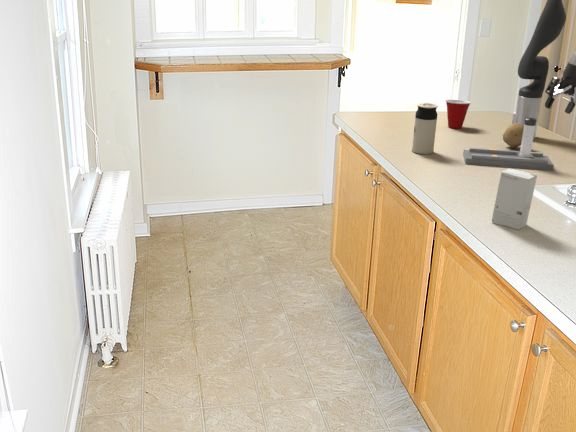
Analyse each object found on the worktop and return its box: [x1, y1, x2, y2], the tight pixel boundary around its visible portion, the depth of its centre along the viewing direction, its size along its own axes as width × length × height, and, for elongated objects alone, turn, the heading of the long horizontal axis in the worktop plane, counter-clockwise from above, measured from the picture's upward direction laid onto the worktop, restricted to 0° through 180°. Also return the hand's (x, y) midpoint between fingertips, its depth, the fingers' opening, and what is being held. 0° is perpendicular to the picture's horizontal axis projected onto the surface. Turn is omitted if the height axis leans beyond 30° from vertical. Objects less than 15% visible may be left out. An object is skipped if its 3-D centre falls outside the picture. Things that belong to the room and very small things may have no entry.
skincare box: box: [491, 167, 538, 230], centre depth 181 cm, size 8×6×15 cm
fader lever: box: [516, 118, 537, 158], centre depth 237 cm, size 5×6×14 cm
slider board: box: [462, 147, 554, 171], centre depth 240 cm, size 30×12×3 cm, turn 80°
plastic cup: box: [444, 99, 472, 130], centre depth 288 cm, size 11×11×12 cm
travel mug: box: [411, 102, 439, 155], centre depth 248 cm, size 8×8×18 cm
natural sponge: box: [502, 123, 524, 149], centre depth 258 cm, size 9×9×10 cm
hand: (557, 110), depth 224 cm, fingers open, 8 cm apart
